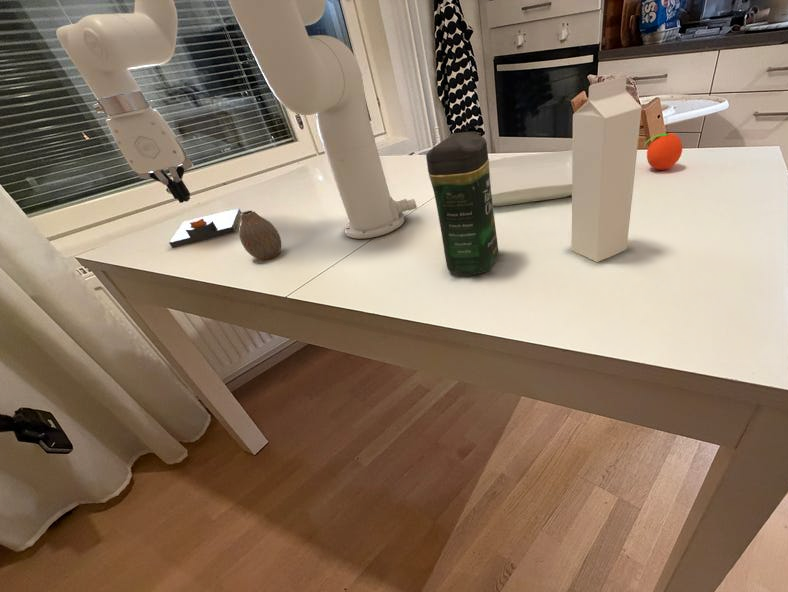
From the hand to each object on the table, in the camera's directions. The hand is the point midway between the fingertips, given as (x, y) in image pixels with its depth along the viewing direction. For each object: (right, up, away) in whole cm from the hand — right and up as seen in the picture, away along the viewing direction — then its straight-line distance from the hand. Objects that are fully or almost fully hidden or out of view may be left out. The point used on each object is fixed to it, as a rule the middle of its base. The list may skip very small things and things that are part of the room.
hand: (185, 200), depth 89 cm
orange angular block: (0, -5, +4) cm, 6 cm away
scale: (-1, -3, +10) cm, 10 cm away
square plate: (+77, +3, +1) cm, 77 cm away
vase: (+24, -15, -9) cm, 30 cm away
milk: (+85, -19, -27) cm, 92 cm away
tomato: (+106, +6, -3) cm, 106 cm away
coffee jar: (+66, -21, -25) cm, 73 cm away
